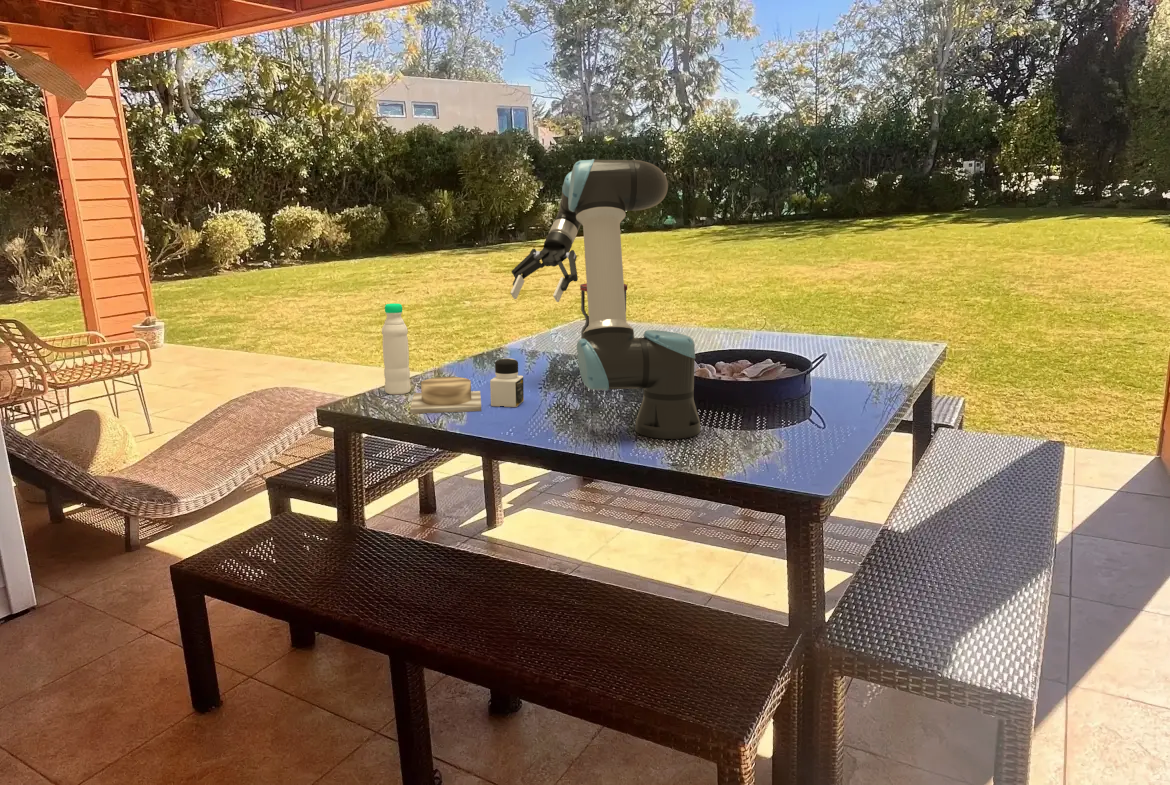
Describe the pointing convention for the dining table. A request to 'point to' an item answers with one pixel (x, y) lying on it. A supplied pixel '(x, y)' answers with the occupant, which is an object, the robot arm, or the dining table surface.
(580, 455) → the dining table surface
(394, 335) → the water bottle
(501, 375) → the medicine bottle
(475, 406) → the post stand
